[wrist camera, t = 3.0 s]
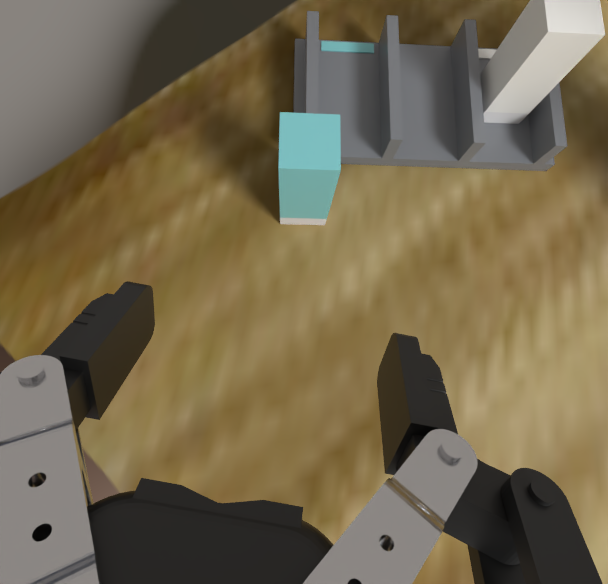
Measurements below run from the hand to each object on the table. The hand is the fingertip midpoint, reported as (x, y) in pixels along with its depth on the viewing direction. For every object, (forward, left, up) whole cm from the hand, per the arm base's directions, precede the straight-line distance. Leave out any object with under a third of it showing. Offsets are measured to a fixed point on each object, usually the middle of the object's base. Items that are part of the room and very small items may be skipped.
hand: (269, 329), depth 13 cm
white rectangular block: (-20, -23, -19) cm, 36 cm away
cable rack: (-13, -23, -20) cm, 33 cm away
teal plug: (-2, -13, -20) cm, 24 cm away
